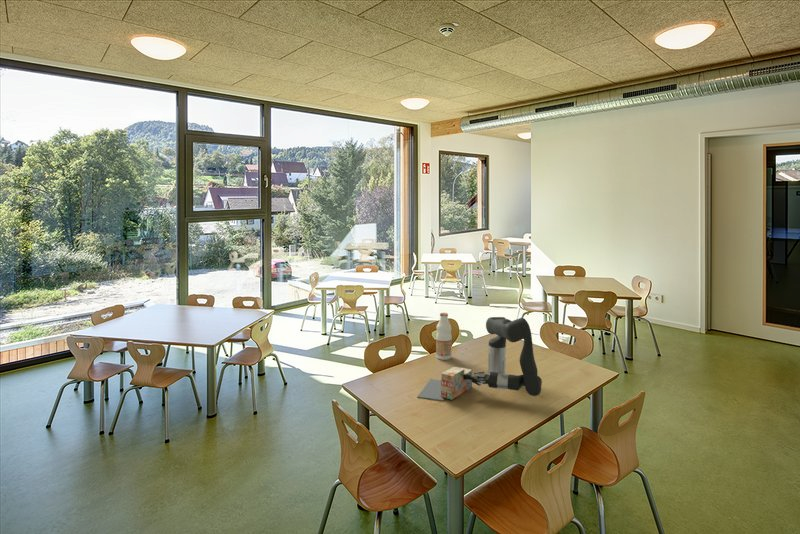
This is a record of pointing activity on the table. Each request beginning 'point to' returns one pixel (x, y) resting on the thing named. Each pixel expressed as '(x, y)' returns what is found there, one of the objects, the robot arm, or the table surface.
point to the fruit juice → (443, 338)
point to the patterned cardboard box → (454, 382)
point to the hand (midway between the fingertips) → (463, 376)
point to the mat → (432, 391)
